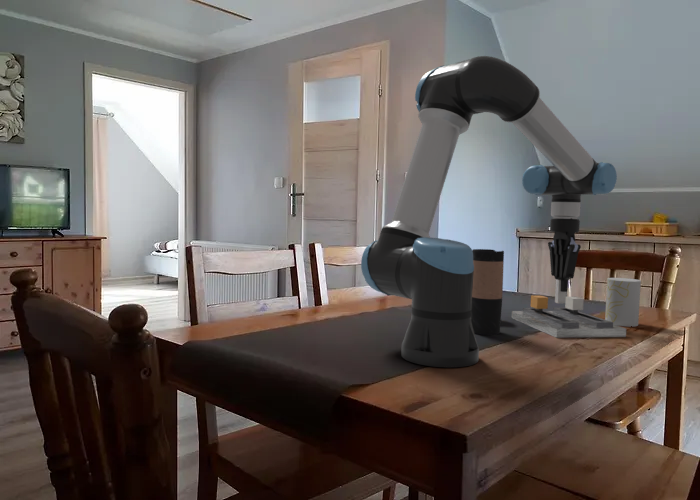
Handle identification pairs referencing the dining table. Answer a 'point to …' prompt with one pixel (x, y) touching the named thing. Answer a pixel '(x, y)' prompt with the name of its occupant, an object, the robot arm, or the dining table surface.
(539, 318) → the console
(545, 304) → the block
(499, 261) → the travel mug
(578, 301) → the fader right
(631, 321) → the cup
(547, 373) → the dining table surface
